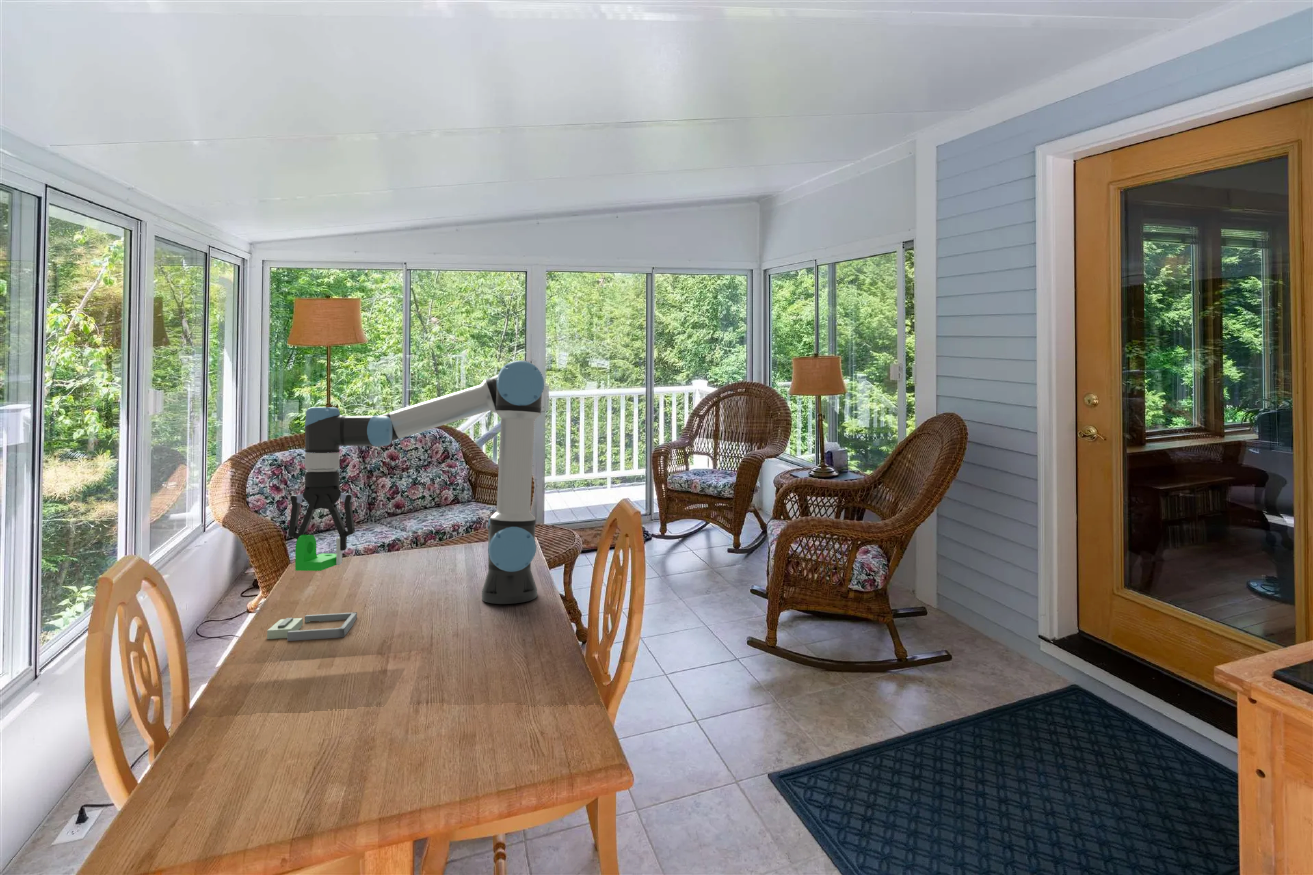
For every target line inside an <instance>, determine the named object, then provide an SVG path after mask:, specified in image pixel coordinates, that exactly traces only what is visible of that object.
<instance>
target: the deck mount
mask: <svg viewBox="0 0 1313 875" xmlns="http://www.w3.org/2000/svg"><path fill="white" fill-rule="evenodd" d="M357 618H358V612H357V611H356V612H339V613H337V612H336V613H324V614H323V613H322V614H306V615H304V618H303V617H298V618H294V617H286V618H280V619H279V620H278V621H276V623H274V624H273V625H272V626H270V628H268V629H267V630H266V639H267V640H273V639H274V640H275V639H286V640H287V642H289V641H290V642H291V641H293V642H294V641H307V640H320V639H321V640H323V639H335V638H337V639H339V638H345V637H346V635H347V634H348V633H349V631H350V630H351V628H352V627H353V625H354V624H355V621H356V620H357ZM344 620H345V621H344ZM309 621H319V622H330V621H344V622H343V623H342V624H341V626H340V627H334V628H333V627H331V628H317V629H316V628H313V629H301V628H302V627H303V626H302V625H304V623H305V622H306V623H310V622H309ZM301 626H302V627H301ZM300 629H301V630H300Z"/></svg>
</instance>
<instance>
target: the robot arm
mask: <svg viewBox="0 0 1313 875" xmlns="http://www.w3.org/2000/svg"><path fill="white" fill-rule="evenodd" d="M544 389H545V381H544V376H543V374H542V372H541V371H540V369H539V368H538V367H537V366H536V365H534V364H533V363H531V362H529V361H526V360H514V361H510V362H508V363H506V364H504V365H503V366H502V367H501V368H500V370H499V372H498V373H497V374H496V375H494V376H492V377H489V378H485V379H484V380H483V381H482V382H481V384H478V385H475V386H473V387H472V386H471V387H468V388H465V389H462V390H459V391H455V392H452V393H450V394H446V395H442V396H439V397H436V398H432V399H429V400H426V401H423V402H422V401H421V402H419V403H416V404H413V405H410V406H406V407H403V408H399V409H397V410H396V409H395V410H393V411H390V412H387V413H383V414H379V415H343V414H341V413H340V409H339V408H338V407H333V406H332V407H331V406H329V407H327V406H313V407H309V408H307V409H306V411H305V422H304V423H305V424H304V445H305V446H304V447H305V450H304V452H305V453H304V469H305V470H307V471H305V473H304V491H303V492H302V493H301V494H294V495H291V496H290V502H291V510H290V511H291V512H290V518H289V525H288V531H287V532H288V533H287V534H288V537H292V538H295V539H296V540H297V539H298V538H299V536H301V535H307V531H308V529H309V526H310V524H311V523H312V522H311V521H312V519H313V516H314V514H315V512H316V510H320V509H323V510H324V509H325V510H328V512H329V513H330V516H331V518H332V521H333V522H334V525H335V528H336V531H337V533H338V535H339V536H338V537H336V540H335V542H336V545H335V546H336V547H335V548H336V551H335V552H336V553H335V554H336V565H335V566H340V565H342V564H343V551H346V550H347V549H348V548H347V547H348V545H347V543H348V541H347V540H348V539H347V538H348V536H350V535H351V536H352V535H353V534H355V532H356V529H355V520H354V515H353V512H354V511H353V505H352V504H353V503H352V502H353V499H354V495H353V493H343V492H342V491H341V488H340V472H339V471H338V469H340V448H341V447H375V448H376V447H383V446H384V447H386V446H389V445H391V444H392V442H394V441H397V440H399V439H403V438H406V437H409V436H412V435H415V434H418V433H422V432H426V431H428V430H432V429H434V428H438V427H441V426H445V425H447V424H451V423H454V422H457V421H460V420H463V419H467V418H471V417H473V416H476V415H480V414H484V413H486V412H492V413H494V414H495V413H496V414H497V416H498V417H499V418H500V436H499V452H498V453H499V456H498V457H499V458H498V476H497V494H496V497H497V498H496V511H495V512H494V513H493V514H491V516H490V517H489V519H488V522H487V523H488V524H487V534H488V539H487V540H488V541H487V543H488V545H487V546H488V549H487V556H488V557H487V558H488V559H487V560H488V563H487V566H488V567H487V568H488V569H487V570H488V571H487V575H486V577H485V580H484V583H483V587H482V590H481V601H483V602H485V603H490V604H494V605H495V604H499V605H510V604H520V603H525V602H526V603H527V602H529V601H533V600H535V599H536V598H537V597H538V587H537V585H536V580H535V579H534V576H533V575H534V574H533V572H532V564H531V563H532V561H533V559H534V558H535V555H536V553H537V544H536V540H535V538H536V521H537V520H536V516H534V514H533V513H532V511H531V500H532V483H533V482H532V480H533V477H532V476H533V461H534V459H533V456H534V441H535V440H534V439H535V421H536V419H537V418H539V417H540V416H541V413H542V394H543V393H544ZM340 499H341V501H342V503H344V504H343V505H344V506H343V507H344V508H343V509H344V513H345V514H344V515H345V521H346V527H345V525H344V522H343V520H342V517H341V516H340V513H339V509H338V506H337V504H336V503H337V502H338V500H340ZM303 500H305V502H307V504H308V506H307V509H306V512H305V515H304V517H303V519H302V521H301V524H300V527H299V530H298V526H299V525H298V524H299V518H300V510H301V503H302V502H303Z"/></svg>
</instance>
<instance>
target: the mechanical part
mask: <svg viewBox="0 0 1313 875" xmlns="http://www.w3.org/2000/svg"><path fill="white" fill-rule="evenodd" d="M294 549H295V551H294V552H295V558H294V559H295V560H294V561H295V562H294V568H295V569H294V571H296V572H297V571H298V572H299V571H300V572H304V571H307V572H309V571H310V572H322V571H324V570H327V569H330V568H332V567H334V566H337V565H336V553H326V552H325V553H324V552H323V553H319V554H317V539H316V537H315V536H314V535H313V534H305V535H301V536H299V538H298V539H296V542H295V548H294Z"/></svg>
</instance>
